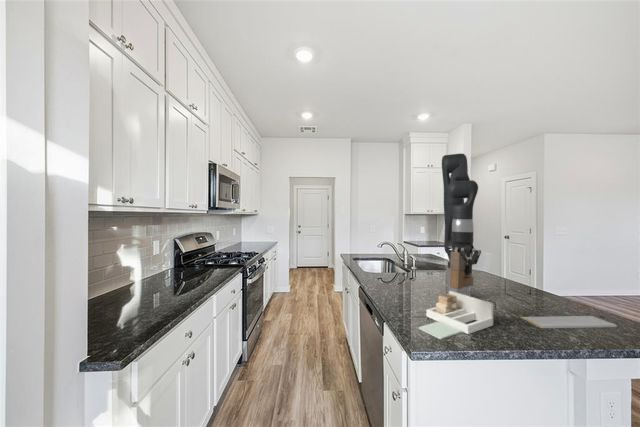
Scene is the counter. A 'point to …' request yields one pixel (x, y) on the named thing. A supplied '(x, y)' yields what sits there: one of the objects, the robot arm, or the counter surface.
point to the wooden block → (459, 272)
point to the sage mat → (440, 330)
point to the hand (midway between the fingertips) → (462, 273)
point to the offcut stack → (446, 304)
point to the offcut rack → (466, 314)
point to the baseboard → (569, 322)
